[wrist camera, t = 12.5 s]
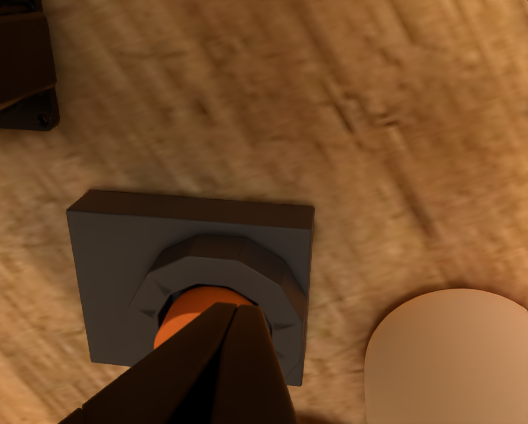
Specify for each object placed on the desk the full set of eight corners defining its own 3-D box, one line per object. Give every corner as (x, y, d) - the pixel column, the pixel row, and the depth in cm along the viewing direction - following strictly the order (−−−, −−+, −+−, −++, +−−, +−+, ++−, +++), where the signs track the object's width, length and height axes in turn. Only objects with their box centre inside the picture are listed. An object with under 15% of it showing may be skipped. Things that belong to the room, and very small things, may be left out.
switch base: (109, 333, 26) (72, 391, 22) (89, 189, 22) (41, 229, 19) (304, 354, 25) (298, 419, 21) (315, 205, 21) (309, 253, 18)
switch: (171, 361, 21) (157, 392, 20) (164, 280, 19) (149, 307, 18) (265, 371, 21) (258, 404, 19) (267, 290, 19) (260, 319, 17)
